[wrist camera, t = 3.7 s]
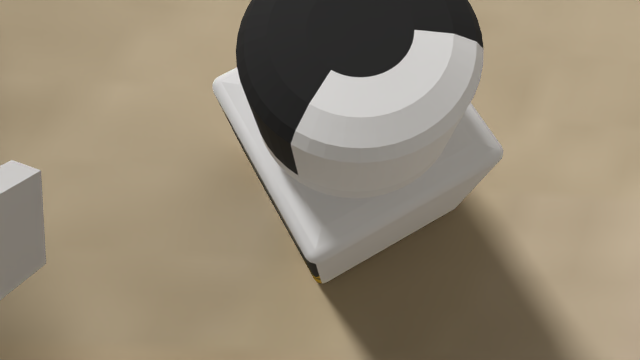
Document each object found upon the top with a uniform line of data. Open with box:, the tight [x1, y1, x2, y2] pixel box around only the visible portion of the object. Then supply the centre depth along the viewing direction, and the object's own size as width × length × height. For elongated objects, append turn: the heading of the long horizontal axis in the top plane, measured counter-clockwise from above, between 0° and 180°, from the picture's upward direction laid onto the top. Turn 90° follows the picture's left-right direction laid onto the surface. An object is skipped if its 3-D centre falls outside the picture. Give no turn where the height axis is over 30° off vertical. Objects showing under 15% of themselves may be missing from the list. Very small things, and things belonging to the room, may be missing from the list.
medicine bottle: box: [213, 0, 503, 283], centre depth 18 cm, size 7×7×12 cm
